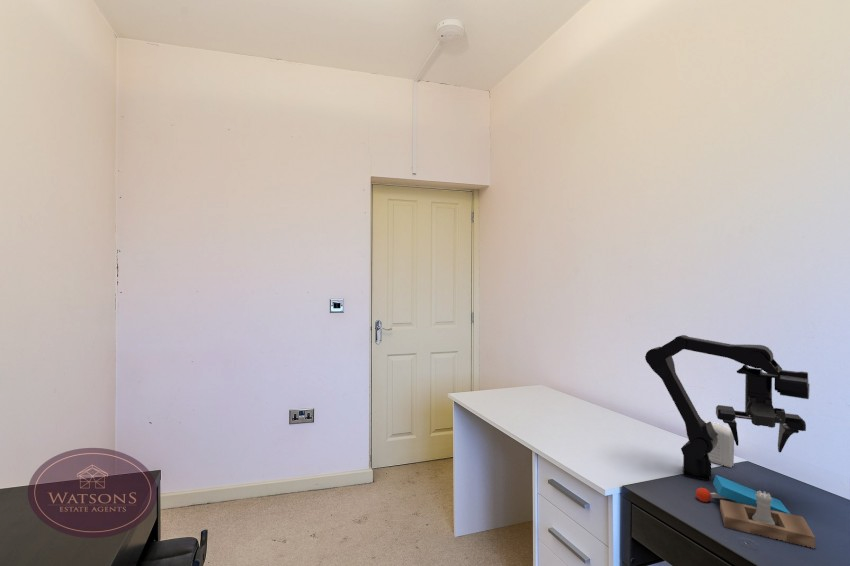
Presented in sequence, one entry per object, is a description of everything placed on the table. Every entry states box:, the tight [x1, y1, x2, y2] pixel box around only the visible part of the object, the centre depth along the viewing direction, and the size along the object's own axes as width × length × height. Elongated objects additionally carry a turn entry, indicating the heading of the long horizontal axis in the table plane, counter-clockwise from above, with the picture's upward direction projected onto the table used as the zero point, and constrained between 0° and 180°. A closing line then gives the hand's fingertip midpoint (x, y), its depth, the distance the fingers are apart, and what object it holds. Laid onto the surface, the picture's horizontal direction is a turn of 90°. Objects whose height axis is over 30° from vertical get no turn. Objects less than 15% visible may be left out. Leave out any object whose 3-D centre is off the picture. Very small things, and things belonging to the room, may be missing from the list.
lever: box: [695, 474, 791, 514], centre depth 108 cm, size 7×7×18 cm
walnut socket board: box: [719, 498, 816, 549], centre depth 98 cm, size 16×9×2 cm, turn 61°
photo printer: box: [703, 420, 735, 468], centre depth 135 cm, size 10×4×12 cm, turn 35°
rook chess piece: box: [751, 490, 776, 526], centre depth 99 cm, size 4×4×8 cm
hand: (757, 448), depth 115 cm, fingers open, 9 cm apart
